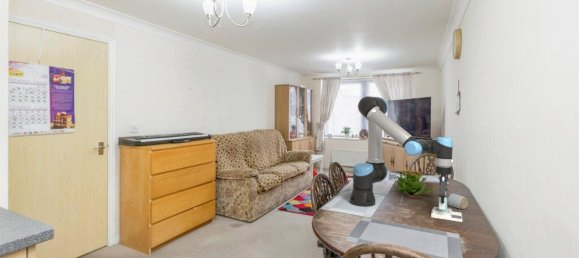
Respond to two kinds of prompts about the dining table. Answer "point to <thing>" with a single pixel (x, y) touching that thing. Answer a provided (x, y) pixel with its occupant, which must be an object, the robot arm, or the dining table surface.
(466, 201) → the ceramic mug
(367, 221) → the dining table surface
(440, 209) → the block
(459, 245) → the dining table surface
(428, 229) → the dining table surface
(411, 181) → the potted flower
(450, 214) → the outlet plate
